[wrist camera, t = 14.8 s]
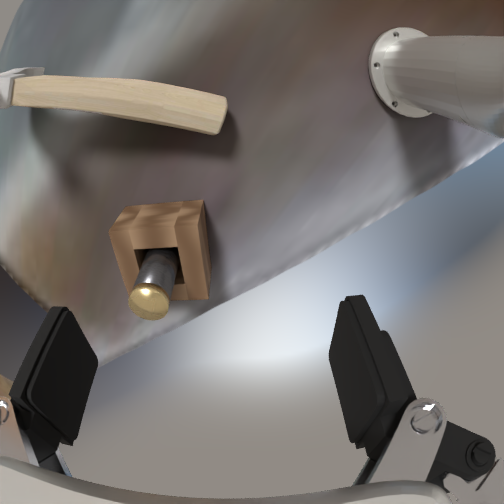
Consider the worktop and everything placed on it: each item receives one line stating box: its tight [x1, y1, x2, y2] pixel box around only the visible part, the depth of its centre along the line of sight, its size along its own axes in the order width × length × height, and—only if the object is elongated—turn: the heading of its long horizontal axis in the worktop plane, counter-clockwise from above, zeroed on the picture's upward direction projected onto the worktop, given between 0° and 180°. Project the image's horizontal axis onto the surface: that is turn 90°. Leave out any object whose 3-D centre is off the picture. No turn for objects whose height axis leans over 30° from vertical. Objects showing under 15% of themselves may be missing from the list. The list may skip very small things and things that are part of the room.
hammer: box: [0, 67, 228, 135], centre depth 26 cm, size 16×5×30 cm
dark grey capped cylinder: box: [128, 247, 180, 320], centre depth 37 cm, size 4×4×14 cm
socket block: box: [108, 200, 212, 301], centre depth 39 cm, size 11×11×7 cm
